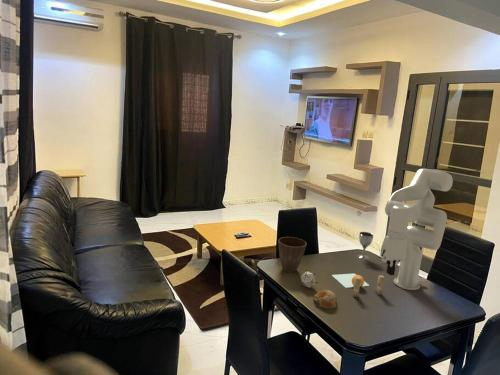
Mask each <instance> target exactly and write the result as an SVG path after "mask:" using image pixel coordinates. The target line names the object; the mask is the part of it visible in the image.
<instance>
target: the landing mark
mask: <svg viewBox="0 0 500 375" xmlns="http://www.w3.org/2000/svg"><path fill="white" fill-rule="evenodd" d="M355 275H357V274H356V273H343V274H342V273H339V274H331V276H332V277H333V278H334V279H335V280H336V281H337V282H338V283H340V285H341V286H342V287H344V288H345V289H349V288H354V285H353V284H352V278H353V277H354V276H355ZM363 287H370V284H369V283H368V282H366V281H365V280H364V284H363V286H361V287H360V288H363Z"/></svg>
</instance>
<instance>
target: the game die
mask: <svg viewBox="0 0 500 375" xmlns="http://www.w3.org/2000/svg"><path fill="white" fill-rule="evenodd" d="M315 275H316V273H313V272H310V271H308V269H306V270H305V272H304V273H302V275H298V278H300V282H301V286H302V287H303V286H304V287H306V288H307V289H308V290H311V288H312V287H314V286H315V284H319V282H317V279H316V276H315Z"/></svg>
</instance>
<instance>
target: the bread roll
mask: <svg viewBox="0 0 500 375" xmlns="http://www.w3.org/2000/svg"><path fill="white" fill-rule="evenodd" d="M337 300H338V299H337V295H336V294H335V293H334V292H333V291H332V290H329V289H322V290H319V291H318V292H317V293H316V294H314V295H313V302H314V303H315V305H316V306H318V307H320V308H323V309H334V308H337Z"/></svg>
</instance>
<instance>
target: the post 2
mask: <svg viewBox="0 0 500 375" xmlns="http://www.w3.org/2000/svg"><path fill="white" fill-rule="evenodd" d="M384 281H385V276H384V275H379V274H378V278H377V283H376V290H375V294H376V295H378V296H381V295H382V293H383V287H384Z"/></svg>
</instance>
